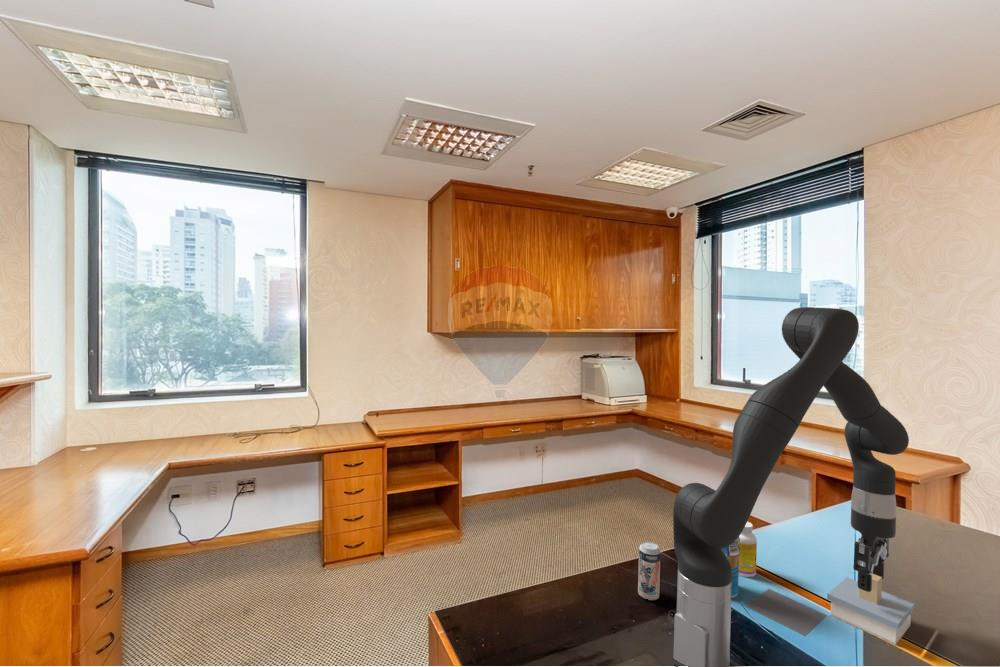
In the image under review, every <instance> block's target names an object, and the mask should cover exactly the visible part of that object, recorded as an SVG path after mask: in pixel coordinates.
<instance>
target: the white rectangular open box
mask: <svg viewBox="0 0 1000 667" xmlns="http://www.w3.org/2000/svg"><path fill="white" fill-rule="evenodd" d="M911 614H912V613H911ZM911 614H910V616H909V617H908V618H907V619H906V621H905V622H904V623H903V624H902V626H901V627H900V628H899V629H898V630H897V629H895V628H892V627H890V626H888V625H886V624H883V623H881V622H879V621H876V620H874V619H872V618H869V617H867V616H865V615H863V614H860V613H858V612H856V611H853V610H851V609H849V608H846V607H844V606H842V605H840V604H837V603H835V602H833V601H830V617H833V618H835V619H837V620H838V621H840V622H843V623H846V624H847V625H850V626H852V627H854V628H856V629H858V630H861V631H863V632H865V633H867V634H869V635H872V636H874V637H876V638H878V639H880V640H883V641H884V642H886V643H889V644H892V645H893V646H896V645H897V644H898V643H899V641H900V640H901V639H902V638H903V636H904V635H905V633H906V632H907V630H908V629H909V628H910V626H911V619H912V618H911V617H912V616H911Z"/></svg>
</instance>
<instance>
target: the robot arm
mask: <svg viewBox="0 0 1000 667" xmlns="http://www.w3.org/2000/svg"><path fill="white" fill-rule="evenodd" d="M782 320H783V321H782V325H781V334H782V335H781V336H782V338H783V341H784V342H785V343H786V345H787V346H788V348H789V349H790V350H791V351H792V353H794V355H795V356H796V357H797V358H798V359H799V360H798V362H796V364H794V365H793V366H791V368H790V369H788V370H787V371H786V372H783V373H782V374H780V375H779V376H777V377H776V378H774V379H772V380H770V381H768V382H767V383H766V384H764V385H762V386H760V388H758V389H756V390H755V391H754V392H753V393H752V394H751V395H750V396H749V398H748V400H747V401H746V402H745V404H744V406H743V408H742V409H741V411H740V412H739V414H738V416H737V418H736V420H735V422H734V425H733V429H732V442H731V443H732V446H731V447H732V448H731V460H730V463H729V464H730V465H729V467H728V470H727V473H726V475H725V476H724V478H723V479H722V481H721V483H720V484H719V486H717V488H716V490H715V489H714V488H711V487H709V486H708V485H707V484H704V483H700V482H691V483H687V484H686V485H683V487H681V489H680V490H678V492H677V494H676V497H675V499H674V503H673V511H672V521H673V522H672V524H673V526H672V528H673V529H672V532H673V549H674V553H675V556H676V559H677V589H676V613H675V614H674V618H673V619H674V625H673V628H674V629H673V630H674V631H673V658H674V659H675V660H677V661H678V662H680V663H682V664H684V665H686V666H688V667H730V661H731V660H730V657H731V656H730V655H731V652H730V650H731V615H732V598H731V588H732V567H731V564H730V562H729V560H728V559H727V557H726V556H725V554H724V553H723V551H722V549H721V548H725V547H728V546H729V545H731V544H732V543H734V542H735V540H736V539H737V538H738V537H739V536H740V534H741V532H742V531H743V529H744V527H745V525H746V523H747V521H748V522H749V518H750V516H751V514H752V512H753V510H754V507H755V505H756V503H757V500H758V498H759V496H760V494H761V492H762V490H763V487H764V485H765V484H766V482H767V479H768V478H769V476H770V475H771V472H772V471H773V470H774V468H775V466H776V464H777V462H778V461H779V458H780V457H781V455H782V453H783V452H784V450H785V449H786V447H787V446H788V444H789V443H790V441H791V440H792V438H793V437H794V435H795V433H796V432H797V430H798V428H799V427H800V424H801V423H802V421H803V419H804V417H805V415H806V413H807V412H808V410H809V408H810V407H811V405H812V404H813V402H814V400H815V399H816V398H817V396H818V394H819V393H820V392H821V390H822V388H824V389H825V391H827V393H828V394H829V396H830V397H831V399H832V400H833V403H834V404H835V406H836V407H837V409H838V411H839V413H840V414H841V415H842V417H843V419H845V421H846V424H845V426H844V438H845V442H846V446H847V449H848V451H849V455H850V459H851V462H852V467H853V477H852V478H853V479H852V480H853V481H852V482H853V483H852V484H853V485H852V492H851V498H850V500H851V502H850V503H851V504H850V505H851V506H850V526H851V528H853V529H854V530H855V531H857V532H859V534H861V536H860V538H859V537H858V539H857V541H855V542H854V544H853V545H854V551H853V553H854V554H853V570H854V571H856V572H857V581H858V588H860V589H862V590H864V591H867V592H870V591H871V590H872V574H875V575H878V576H880V577H882V580H884V579H885V563H886V562H887V558H889V556H890V553H889V552H890V550H889V548H890V547H889V546H890V544H889V542H890V539H892V538H894V537H896V533H897V532H896V531H897V499H896V498H897V497H896V482H897V481H896V478H897V477H896V476H897V474H896V470H895V469H894V467H893V466H892V465H889V464H888V463H885V462H883V461H881V460H879V459H877V458H876V457H875V456H874V454H873V452H876V453H880V454H884V455H891V456H896V455H901V454H902V453H903V452H905V451H906V450H907V449H908V446H909V440H910V438H909V434H908V431H907V429H906V428H905V426H904V425H903V423H902V422H901V421H900V420H899V419H898V418H897V417H895V416H894V415H893V414H892V413H891V412H890V411H889V410H888V409H886V408H885V407H884V406H883V405H881V403H880V401H879V398H878V397H877V395H876V393H875V392H874V390H873V388H872V387H871V385H870V384H869V383H868V382H867V380H865V378H864V377H862V376H861V375H860V374H859V373H858V372H856V371H855V370H854V369H853V368H851V367H850V366H849V365H847V364H846V363H845V362H844V360H845V359H846V357H847V355H848V354H849V353H850V351H851V350H852V348H853V346H854V344H855V343H856V340H857V337H858V334H859V329H860V325H859V324H860V323H859V320H858V318H857V315H855V313H854V312H852V311H850V310H847V309H842V308H837V307H835V308H834V307H833V308H832V307H815V306H812V307H811V306H807V307H806V306H805V307H804V306H802V307H797V308H796V307H795V308H794V309H792V310H790V311H789V312H788V313H787V314H786V315H785V317H784V319H782ZM863 563H864V564H865V566H863Z"/></svg>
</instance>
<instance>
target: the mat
mask: <svg viewBox="0 0 1000 667" xmlns="http://www.w3.org/2000/svg"><path fill="white" fill-rule="evenodd" d="M744 606H745V607H746V608H748V609H749V610H752V611H755V612H757V613H758V614H761V615H762V616H765V617H766V618H768V619H769V620H770V619H771V620H772V621H774V622H776V623H778V624H780V625H782V626H783V627H787V629H790V630H792V631H794V632H796V633H798V634H799V635H801V636H804V637H806V636H807V635H808V634H810V632H811V631H812V630H813V629H814V628H815V627H817V625H819V624H820V623H821V622H822V621H823V620H824V619H825V618H826V617H827V616H828V614H825V613H823V612H821V611H819V610H817V609H814V608H812V607H810V606H808V605H805V604H803V603H801V602H800V601H797V600H795V599H793V598H791V597H788V596H786V595H783V594H782V593H779V592H777V591H776V590H775V591H774V590H773V589H771V588H768V589H766V590H765V591H763V592H762V593H760V594H759V595H758V596H756V597H755V598H754V599H752V600H751V601H749V602H747V604H744Z"/></svg>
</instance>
